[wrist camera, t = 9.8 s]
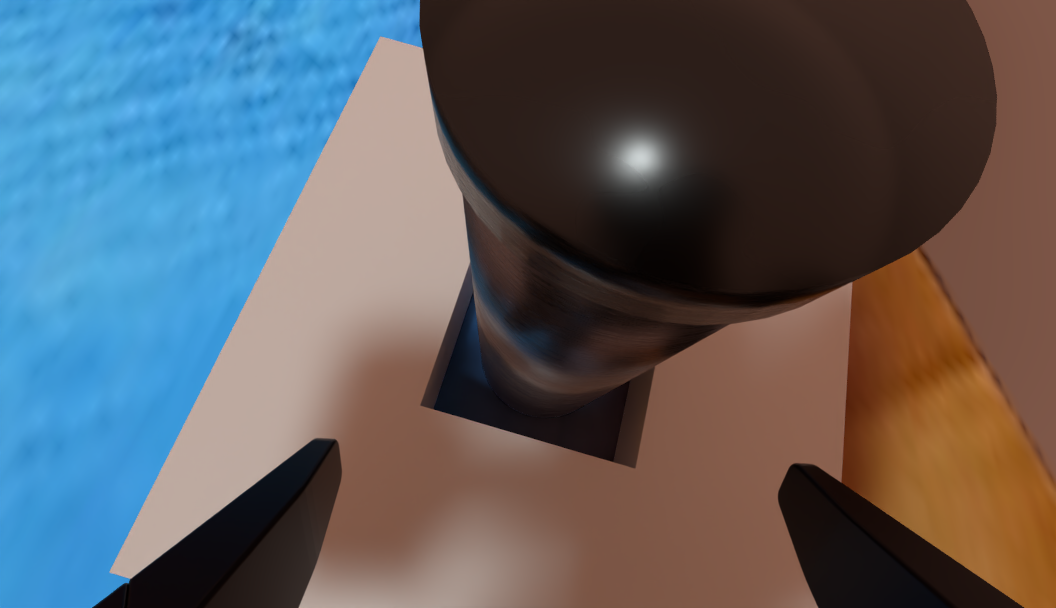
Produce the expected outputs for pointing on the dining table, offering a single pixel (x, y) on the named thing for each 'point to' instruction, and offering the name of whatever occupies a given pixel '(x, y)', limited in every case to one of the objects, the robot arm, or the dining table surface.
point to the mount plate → (477, 449)
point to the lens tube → (690, 166)
